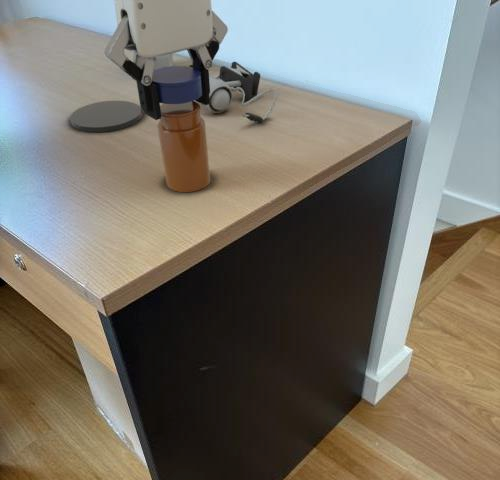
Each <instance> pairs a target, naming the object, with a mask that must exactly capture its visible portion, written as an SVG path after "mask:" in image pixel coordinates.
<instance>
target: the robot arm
mask: <svg viewBox="0 0 500 480" xmlns="http://www.w3.org/2000/svg"><path fill="white" fill-rule="evenodd" d="M114 9H115V17H116V19H115V20H116V26H117V27H116V28H115V31H114V32H113V34H112V36H111V38H109V39H110V40H109V41H108V42H107V45H106V46H105V49H104V52H103V53H104V56H105V57H106V58H107V59H109V60H110V61H111V62H112V63H114V64H115V65H116V66H118V68H119V69H121V71H123V72H124V73H125V74H127V75H128V76H129V77H130V78H131V79H132V80H134V81H135V82H136V88H137V93H138V99H139V107H140V108H141V111H143V113H144V114H145V115H147V116H148V117H150V118H151V119H153V120H155V121H158V120H160V118H161V109H160V106H161V103H160V102H159V95H158V87H157V85H156V84H154V83H152V78H153V73H154V67H155V62H156V57H158V56H163V55H167V54H171V53H172V54H175V53H179V52H185V51H187V54H188V55H189V58H190V60H191V62H192V64H190V65H188V67H193V68H196V69H198V70H199V71H200V72H201V80H202V96H201V97H200V98H198V99H196V100H194V101H195V102H197V103H198V104H201V105H204V106H205V105H208V104H210V99H209V94H210V83H209V73H210V71H209V70H211V69H212V68H213V65H214V62H213V61H214V59H215V57H216V56H217V53H218V52H219V50H220V45H221V44H222V42H223V41H224V39H225V37H226V35H227V33H228V31H229V28H228V26H227V24H226V23H224V21H223V20H222V19H221V18H220V17H219V16H218V15H217V14H216V13H215V12H214V11H213V9H212V0H114ZM125 50H127V51H131V52H133V51H135V53H134V52H133V60H131V59H130V58H128V56H126V54H125Z"/></svg>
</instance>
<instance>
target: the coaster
mask: <svg viewBox="0 0 500 480" xmlns="http://www.w3.org/2000/svg"><path fill="white" fill-rule="evenodd" d="M142 116H143V113H142V108H141V106H140V105H138V104H136V103H135V102H132V101H126V100H104V101H98V102H93V103H89V104H86V105H83V106H81V107H79V108H77V109H75V110H74V111H73V112H72V113H71V114H70V116H69V121H70V124H71V126H72V127H73V128H74V129H76V130H78V131H82V132H86V133H87V132H88V133H106V132H114V131H118V130H122V129H125V128H128V127H130V126H133V125H134V124H136V123H138V122H139V121H140V120H141V119H142Z"/></svg>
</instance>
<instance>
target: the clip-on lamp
mask: <svg viewBox="0 0 500 480" xmlns="http://www.w3.org/2000/svg"><path fill="white" fill-rule="evenodd" d="M260 81H261V73H260V72H258V71H254V72H253V73H252V72H250V71H249V70H248V69H246V68H245V67H243V65H241V64H240V63H239V62H237V61H232V63H231V66H230V67H228V66H225V65H222V66H220V68H219V74H218V75H217V76H216V77H214V76H213V75H212V74H211V73H210V72H209V83H210V94H209V99H210V104H208V105H204V107H205V108H206V109H207V110H208V111H210V112H211V113H215V114H216V113H217V114H219V113H222V112H224V111H225V110H227V109H228V108H229V107H230V105H231V103H232V100H233V93H235V92H240V93H242V97H243V98H242V101H241V107H242V108H245V107H247V106H248V105H250V104H251V103H253V102H254V101H256V100H258V99H259V98H261V97H262V96H264V95H266V94H267V93H269V92H274V98H273V101H272V103H271V105H270V107H269V109H268V110H267V112H266V114H264V116H263V117H262V116H260V115H258V114H254V113H250V112H245V114H243V115H242V117H243V118H246V119H248V120H249V121H251V122H252V121H253V122H254V123H256V122H257V123H260V124H261V123H262V122H263V121H264V120H265V119H267V118H268V116H269V115H270V113H271V112H272V110H273V109H274V106H275V104H276V101H277V97H278V90H277V89H276V88H273V87H272V88H268V89H266V90H264V91H262V92H260V93H258V92H259V88H260V87H259V85H260ZM245 101H246V102H245Z"/></svg>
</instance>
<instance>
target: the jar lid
mask: <svg viewBox="0 0 500 480" xmlns="http://www.w3.org/2000/svg"><path fill="white" fill-rule="evenodd" d="M152 83H154V84H156V85H157V87H158V95H159V102H160V104H182V103H187V102H191V101H195V100H196V99H198V98H200V97H201V96H202V80H201V72H200V71H199V70H198V69H196V68H193V67H189V65H174V66H169V67H163V68H159V69H156V70H154V73H153V78H152Z"/></svg>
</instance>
